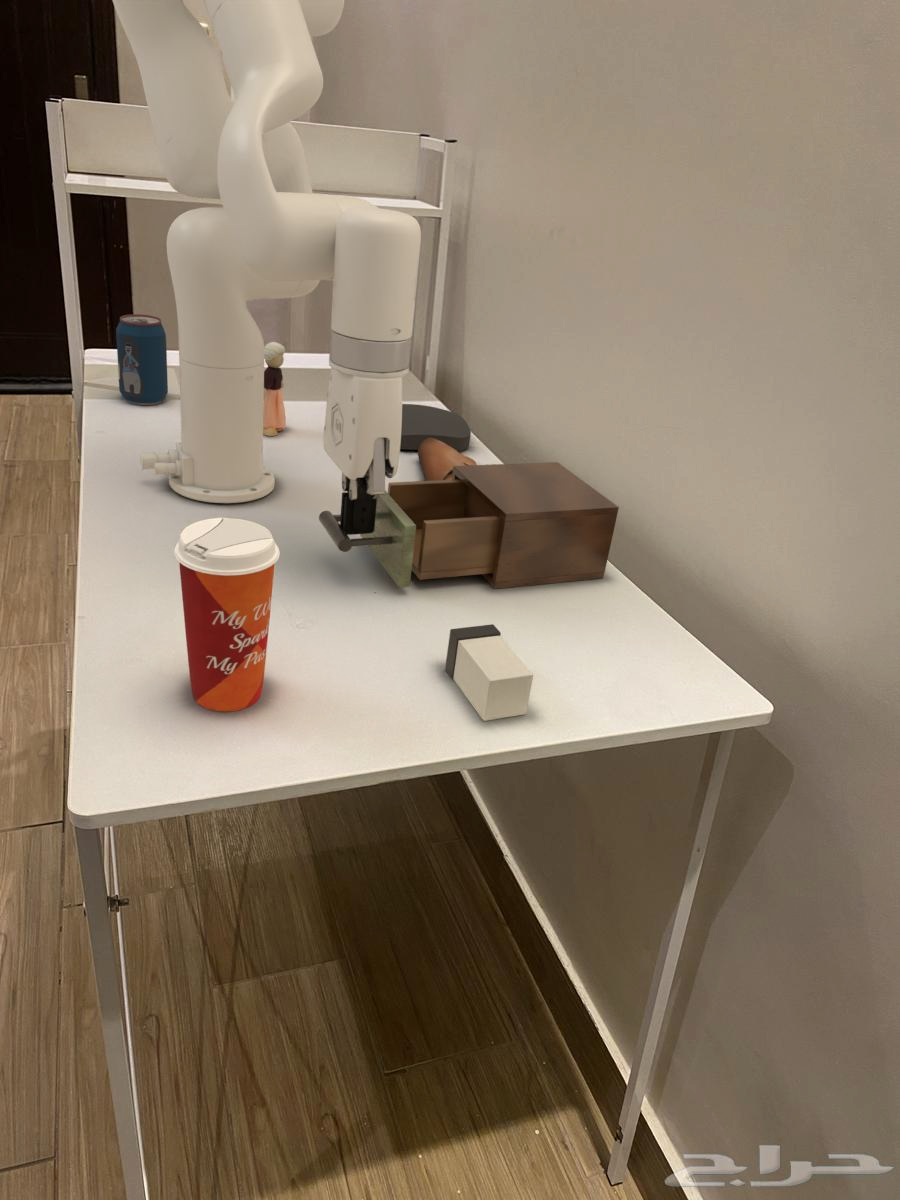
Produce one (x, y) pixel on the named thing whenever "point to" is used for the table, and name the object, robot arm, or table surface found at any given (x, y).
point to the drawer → (427, 531)
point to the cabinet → (543, 522)
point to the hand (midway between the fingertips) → (356, 530)
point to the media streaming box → (432, 427)
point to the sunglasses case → (440, 460)
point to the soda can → (142, 359)
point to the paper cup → (226, 608)
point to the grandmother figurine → (273, 390)
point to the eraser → (488, 672)
